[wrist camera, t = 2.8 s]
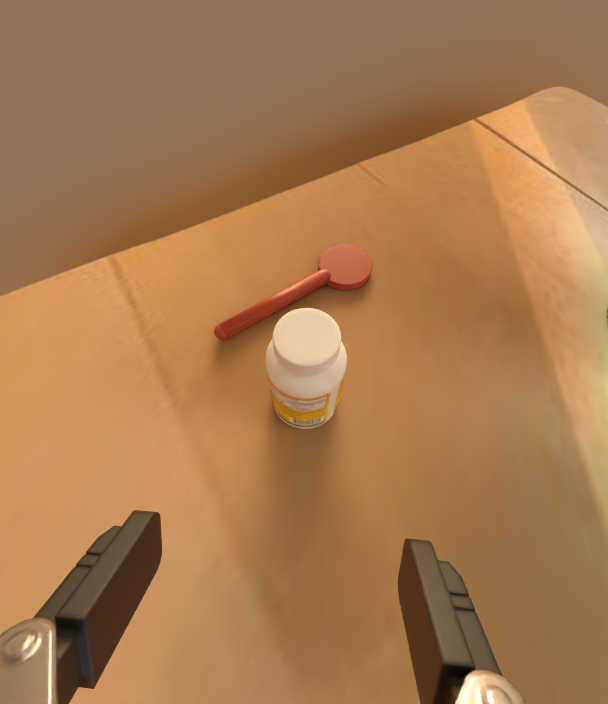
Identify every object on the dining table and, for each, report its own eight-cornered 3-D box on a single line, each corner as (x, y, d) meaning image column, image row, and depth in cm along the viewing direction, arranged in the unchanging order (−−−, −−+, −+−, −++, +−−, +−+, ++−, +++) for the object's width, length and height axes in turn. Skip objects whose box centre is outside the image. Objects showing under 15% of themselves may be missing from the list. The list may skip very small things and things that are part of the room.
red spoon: (231, 361, 31) (228, 353, 29) (203, 319, 33) (199, 310, 32) (381, 275, 35) (384, 265, 34) (348, 243, 37) (350, 233, 36)
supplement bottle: (304, 444, 27) (304, 397, 19) (258, 396, 29) (240, 334, 21) (352, 398, 29) (371, 337, 21) (306, 356, 31) (307, 284, 22)
